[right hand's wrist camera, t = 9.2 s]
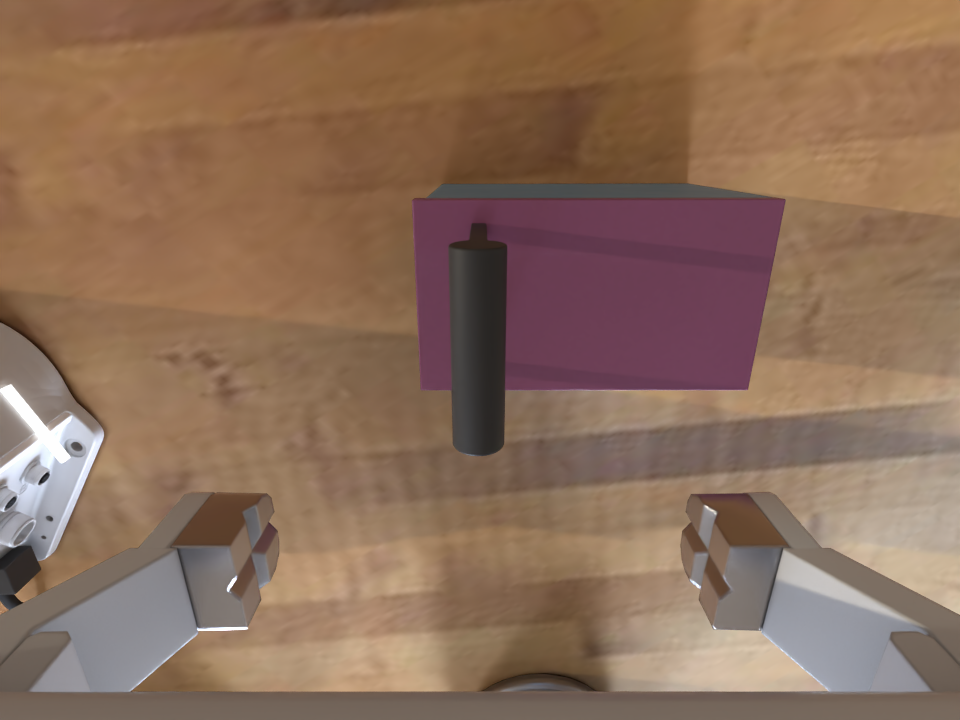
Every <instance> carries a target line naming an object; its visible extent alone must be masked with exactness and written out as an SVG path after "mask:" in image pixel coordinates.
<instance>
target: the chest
mask: <svg viewBox="0 0 960 720" xmlns="http://www.w3.org/2000/svg"><path fill="white" fill-rule="evenodd" d="M427 198H772V197H768V196H761V195H755V194H749V193H743V192H737V191H730V190H724V189H718V188H712V187H705V186H699V185H693V184H442V185H441V186H440V187H439V188H437V189H436V190H435V191H434V192H433V193H432V194H430V195H429V196H428V197H427Z"/></svg>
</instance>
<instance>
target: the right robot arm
mask: <svg viewBox="0 0 960 720" xmlns="http://www.w3.org/2000/svg"><path fill="white" fill-rule="evenodd" d="M103 438H104V431H103V429H102V427H101V425H100V424H99V423H98V422H97V421H96V420H95V419H94V418H93V417H92V416H91V415H90V414H89V413H88V412H87V411H86V410H85V409H84V408H83V407H81V406H80V405H79V404H78V403H77V402H76V401H75V399H74V398H73V396H72V395H71V393H70V392H69V390H68V388H67V386H66V384H65V383H64V381H63V379H62V377H61V376H60V374H59V373H58V371H57V370H56V368H55V367H54V366H53V364H52V363H51V362H50V361H49V359H48V358H47V357H46V356H45V355H44V354H43V353H42V352H41V351H40V350H39V349H38V348H37V347H36V346H35V345H33V344H32V343H31V342H30V341H29V340H27V339H26V338H25V337H24V336H22V335H21V334H19V333H18V332H16V331H15V330H13V329H12V328H10V327H8V326H6V325H4V324H3V323H1V322H0V601H1V602H2V604H3V605H4V606H5V607H6V608H7V609H9V611H7V612H5V613H3V614H1V615H0V720H960V615H959V614H957V613H955V612H953V611H951V610H949V609H947V608H945V607H943V606H941V605H939V604H938V603H936V602H934V601H932V600H930V599H928V598H926V597H924V596H922V595H920V594H918V593H916V592H914V591H912V590H910V589H908V588H907V587H905V586H903V585H901V584H899V583H897V582H895V581H893V580H891V579H889V578H887V577H885V576H883V575H881V574H879V573H878V572H876V571H874V570H872V569H870V568H868V567H866V566H864V565H862V564H860V563H858V562H856V561H854V560H852V559H850V558H848V557H847V556H845V555H843V554H841V553H839V552H837V551H835V550H833V549H831V548H821V546H820V545H819V544H818V543H817V542H816V541H815V540H814V538H813V537H812V536H811V535H810V534H809V533H808V532H807V530H806V529H805V528H804V527H803V526H802V525H801V523H800V522H799V521H798V520H797V519H796V518H795V517H794V515H793V514H792V513H791V512H790V511H789V510H788V508H787V507H786V506H785V505H784V504H783V503H782V502H781V500H780V499H779V498H778V497H777V496H776V495H775V494H773V493H770V492H753V493H742V494H691V495H690V497H689V499H688V502H687V507H686V513H687V515H688V517H689V519H690V521H691V523H690V524H689V525H688V526H687V527H686V528H685V529H684V530H683V531H682V538H681V557H682V562H683V566H684V569H685V572H686V574H687V576H688V578H689V581H690V582H692V583H693V584H694V585H696V586H697V587H699V588H700V589H701V590H700V596H699V601H700V603H701V605H702V607H703V609H704V611H705V613H706V615H707V617H708V619H709V621H710V623H711V625H712V627H713V629H720V630H756V631H762V634H763V635H764V636H766V637H767V638H768V639H769V640H770V641H771V642H773V643H774V644H775V645H776V646H777V647H778V648H780V649H781V650H782V651H783V652H784V653H785V654H787V655H788V656H789V657H790V658H791V659H792V660H794V661H795V662H796V663H797V664H798V665H799V666H801V667H802V668H803V669H804V670H805V671H806V672H808V673H809V674H810V675H811V676H812V677H813V678H815V679H816V680H817V681H818V682H819V683H820V684H822V685H823V686H824V687H825V688H826V689H827V690H829V691H805V692H595V691H495V692H130V691H131V690H133V689H134V688H135V687H136V686H137V685H139V684H140V683H141V682H142V681H143V680H144V679H146V678H147V677H148V676H149V675H150V674H151V673H153V672H154V671H155V670H156V669H157V668H158V667H160V666H161V665H162V664H163V663H164V662H165V661H167V660H168V659H169V658H170V657H171V656H172V655H174V654H175V653H176V652H177V651H178V650H179V649H181V648H182V647H183V646H184V645H185V644H186V643H188V642H189V641H190V640H191V639H192V638H193V637H195V636H196V635H197V634H198V631H204V630H238V629H247V628H248V625H249V623H250V621H251V619H252V617H253V615H254V613H255V611H256V609H257V607H258V605H259V603H260V601H261V596H260V590H259V589H260V588H261V587H263V586H264V585H266V584H267V583H268V582H270V581H271V578H272V576H273V574H274V572H275V570H276V566H277V561H278V557H279V537H278V531H277V530H276V529H275V528H274V527H273V526H272V525H271V524H270V523H269V521H270V519H271V517H272V515H273V513H274V508H273V503H272V498H271V497H270V496H269V495H268V494H267V493H221V492H217V493H214V492H191V493H188V494H185V495H184V496H183V497H182V498H181V499H180V500H179V502H178V503H177V504H176V505H175V506H174V507H173V508H172V510H171V511H170V512H169V513H168V514H167V515H166V517H165V518H164V519H163V520H162V521H161V522H160V523H159V525H158V526H157V527H156V528H155V529H154V530H153V531H152V533H151V534H150V535H149V536H148V537H147V538H146V540H145V541H144V542H143V543H142V544H141V545H140V546H139V548H129V549H127V550H125V551H123V552H121V553H119V554H117V555H115V556H113V557H111V558H110V559H108V560H106V561H104V562H102V563H100V564H98V565H96V566H94V567H92V568H90V569H88V570H86V571H84V572H82V573H80V574H78V575H77V576H75V577H73V578H71V579H69V580H67V581H65V582H63V583H61V584H59V585H57V586H55V587H53V588H51V589H49V590H47V591H45V592H44V593H42V594H40V595H38V596H36V597H34V598H32V599H30V600H28V601H26V602H24V603H23V602H21V601H20V600H18V599H17V597H16V596H15V595H14V594H16V593H17V592H18V591H19V590H20V589H21V588H22V587H23V586H24V585H26V584H27V583H28V582H29V581H30V580H31V579H32V578H33V577H34V576H35V575H36V574H37V573H38V572H39V571H40V570H41V568H40V565H39V563H38V561H40V560H44V559H46V558H47V557H48V556H50V555H51V554H52V553H54V551H55V550H56V548H57V546H58V544H59V542H60V539H61V537H62V535H63V532H64V530H65V528H66V525H67V523H68V521H69V518H70V516H71V514H72V511H73V509H74V507H75V504H76V502H77V500H78V497H79V495H80V492H81V490H82V488H83V485H84V483H85V481H86V478H87V476H88V474H89V471H90V469H91V467H92V464H93V462H94V460H95V457H96V455H97V453H98V450H99V448H100V446H101V443H102V441H103ZM79 443H80V444H81V445H82V446H81V445H79Z"/></svg>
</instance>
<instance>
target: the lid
mask: <svg viewBox="0 0 960 720" xmlns="http://www.w3.org/2000/svg"><path fill="white" fill-rule="evenodd" d="M784 205H785V199H781V198H415V199H413V200H412V212H413V233H414V255H415V276H416V298H417V319H418V341H419V362H420V384H421V390H452V426H453V445H454V447H455V448H456V449H457V450H458V451H459V452H461V453H463V454H466V455H471V456H486V455H490V454H493V453H496V452H498V451H499V450H500V449H501V448H502V447H503V445H504V422H505V390H748V386H749V381H750V376H751V371H752V366H753V361H754V356H755V351H756V346H757V341H758V336H759V331H760V326H761V321H762V316H763V311H764V306H765V301H766V296H767V291H768V286H769V281H770V276H771V271H772V266H773V261H774V256H775V251H776V246H777V240H778V235H779V230H780V225H781V220H782V215H783V210H784Z"/></svg>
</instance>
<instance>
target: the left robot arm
mask: <svg viewBox="0 0 960 720" xmlns="http://www.w3.org/2000/svg"><path fill="white" fill-rule="evenodd" d="M495 691H594V690H593V689H591V688H590V687H588V686H586V685H585V684H583V683H581V682H578V681H576V680H573V679H570V678H567V677H563V676H558V675H550V674H530V675H522V676H516V677H512V678H509V679H506V680H503V681H500V682H498V683H496V684H494V685H492V686H490V687H488V688H487V689H485V690H484V691H482V692H495Z"/></svg>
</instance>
